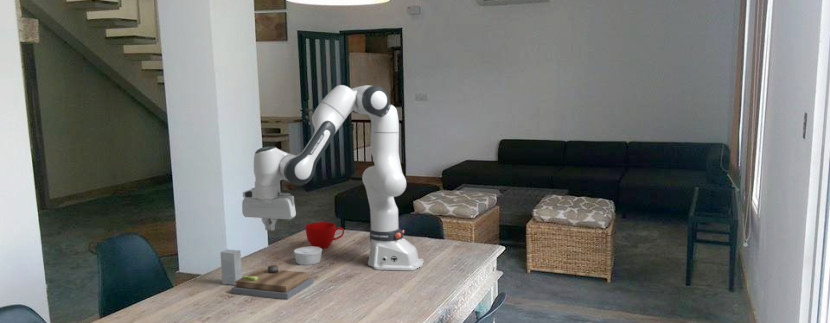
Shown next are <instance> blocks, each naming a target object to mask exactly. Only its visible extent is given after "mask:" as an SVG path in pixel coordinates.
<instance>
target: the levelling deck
mask: <svg viewBox="0 0 830 323" xmlns="http://www.w3.org/2000/svg"><path fill="white" fill-rule="evenodd" d="M308 278H310V272H308V271H306V272H304V271H294V270H293V271H292V270H287V269H286V270H283V269H279V266H278V265H274V264H272V265H269V266H267V268H262V267H261V268H259V269H257V270H255V271H253V272H251V273H249V274H247V275H244V276H242V278H241V279H239V280H237V281H236V285H235V286H236V287H243V288H253V289H262V290H271V291H281V292H287V291H289V290H290V289H292V288H294V287H295V286H297V285H299V284H300V283H302V282H303V281H305V280H307V279H308Z"/></svg>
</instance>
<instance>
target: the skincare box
mask: <svg viewBox="0 0 830 323" xmlns="http://www.w3.org/2000/svg"><path fill="white" fill-rule="evenodd" d="M219 254H220V265H221V283H222V284H223V285H232V286H236V281H237V280H239V279H241V278H243V273H242V256H241V250H239V249H238V250H236V249H225V250H223V251H220V252H219Z"/></svg>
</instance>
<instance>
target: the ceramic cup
mask: <svg viewBox="0 0 830 323" xmlns="http://www.w3.org/2000/svg"><path fill="white" fill-rule="evenodd" d="M338 230H341V231H342V234H341V235H339V236H336V235H335V233H336V232H337V231H338ZM344 234H345V229H344V228H343V227H340V226H339V227H336V224H335V223H334V222H329V221H327V222H326V221H319V222H318V221H317V222H311V223H308V224H306V225H305V236H306V238H307V241H308V243H309V244H310V246H314V247H320V248H322V250H325V249H328V248H329V247H330V246H331V244H332V243H333V241H336V240H338V239H341V238H342V237H343V236H344ZM335 236H336V237H335Z"/></svg>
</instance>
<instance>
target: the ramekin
mask: <svg viewBox="0 0 830 323" xmlns="http://www.w3.org/2000/svg"><path fill="white" fill-rule="evenodd" d="M322 252H323V249H322V248H320V247H314V246H312V245H310V246H309V245H308V246H302V247H299V248H296V249H294V251H293V253H294V257H295V262H296V263H297V264H298V265H300V266H313V265H316V264H318V263H320V261H322V260H321V259H322Z"/></svg>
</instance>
